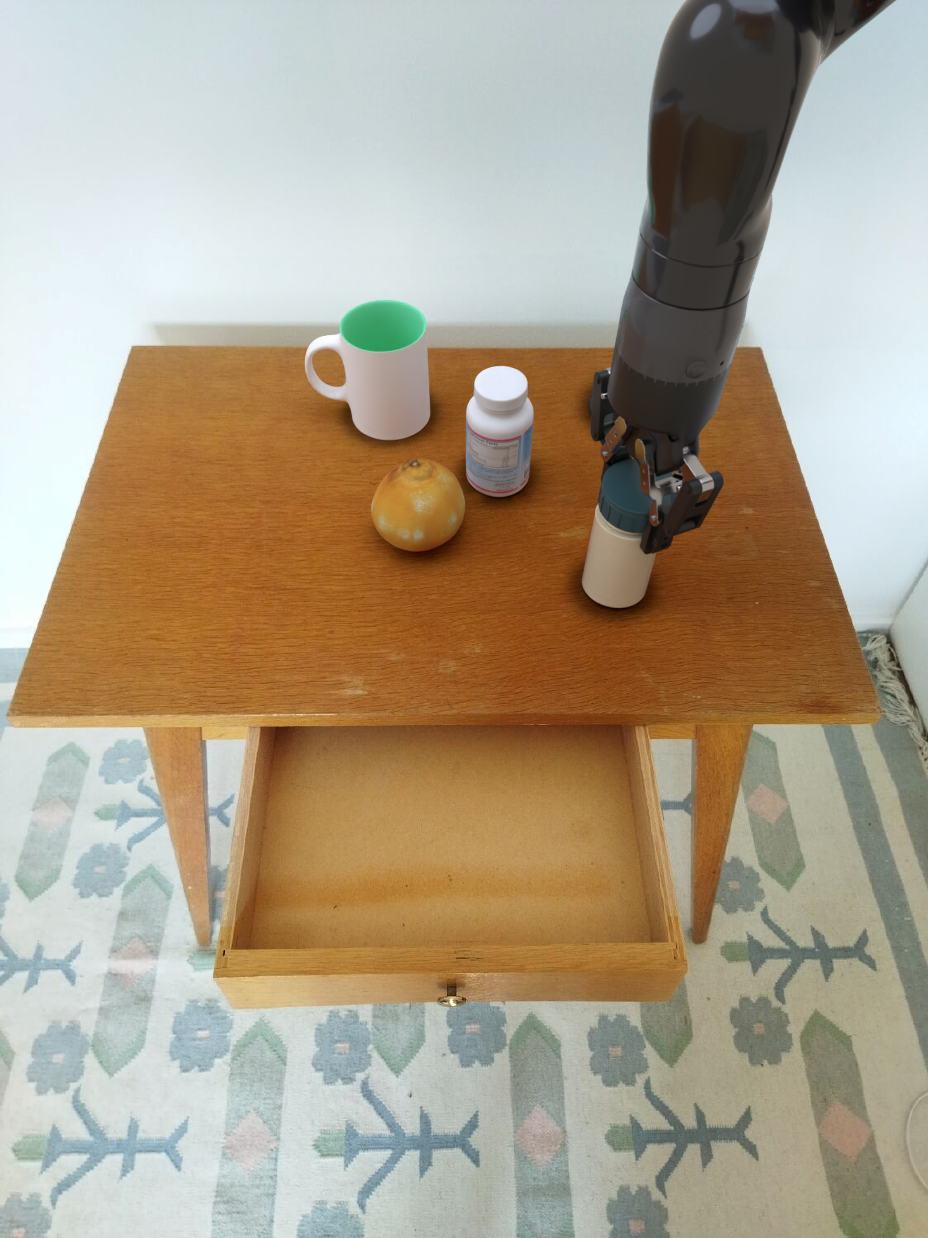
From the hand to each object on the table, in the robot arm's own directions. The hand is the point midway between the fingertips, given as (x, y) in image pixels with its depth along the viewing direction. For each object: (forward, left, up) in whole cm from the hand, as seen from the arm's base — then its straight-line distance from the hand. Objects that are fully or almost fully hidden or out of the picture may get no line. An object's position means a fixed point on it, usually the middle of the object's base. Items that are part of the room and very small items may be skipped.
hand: (632, 519), depth 66 cm
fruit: (+18, -3, -8) cm, 20 cm away
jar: (0, +1, -7) cm, 7 cm away
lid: (0, 0, +4) cm, 4 cm away
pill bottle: (+12, -11, -8) cm, 18 cm away
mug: (+26, -18, -8) cm, 32 cm away
